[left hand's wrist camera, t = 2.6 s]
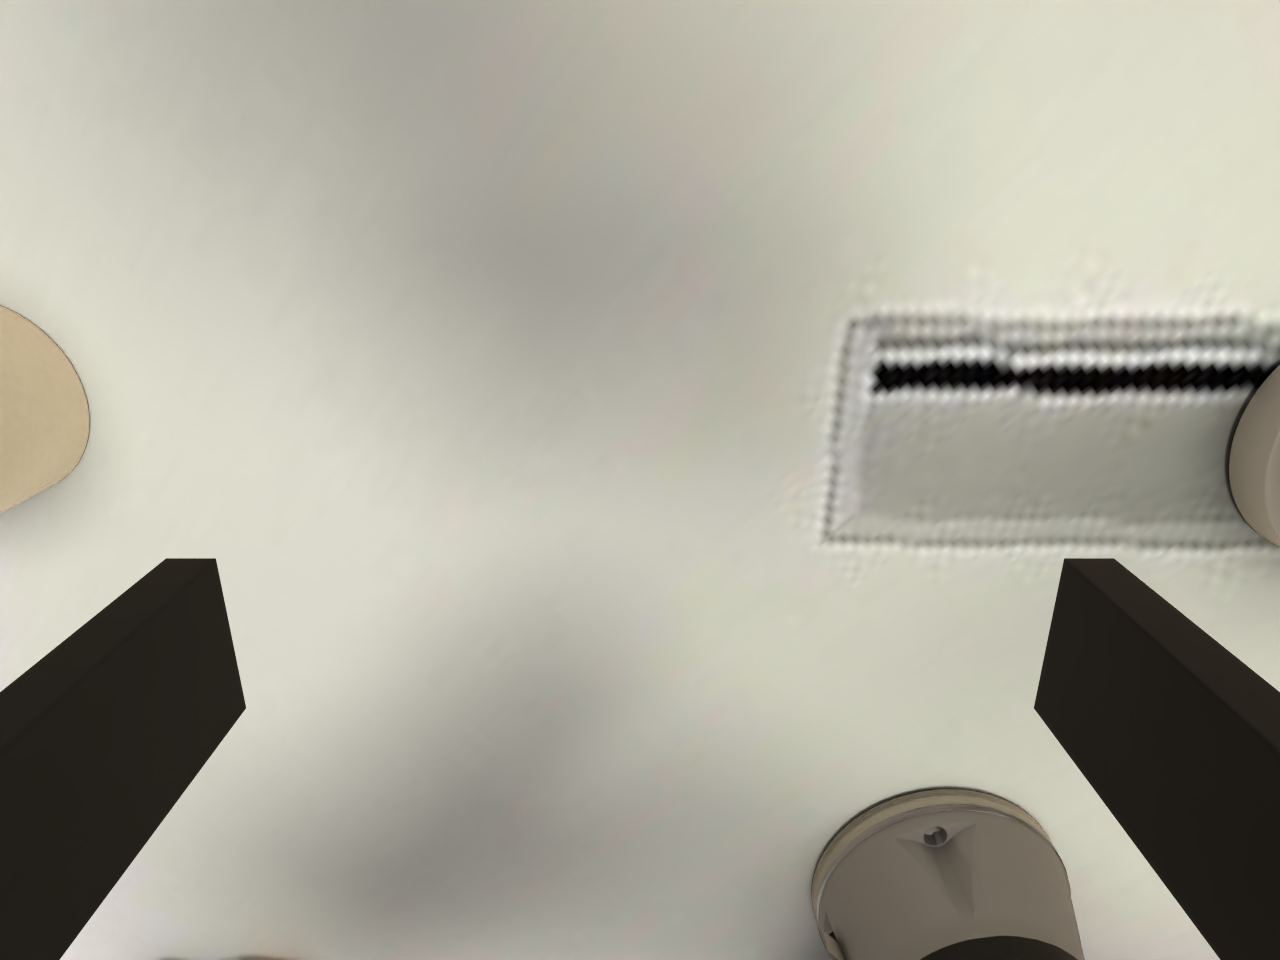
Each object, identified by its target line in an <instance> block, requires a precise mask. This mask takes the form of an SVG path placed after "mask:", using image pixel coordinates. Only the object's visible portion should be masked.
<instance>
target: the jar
mask: <svg viewBox="0 0 1280 960" xmlns="http://www.w3.org/2000/svg"><path fill="white" fill-rule="evenodd" d="M88 434H89V410H88V403H87V399H86V396H85V392H84V389H83V387H82V384H81V382H80V380H79V377H78V375H77V373H76V372H75V370H74V368H73V366H72V365H71V363H70V362H69V360H68V359H67V357H66V356H65V355H64V353H63V352H62V351H61V350H60V348H59V347H58V346H57V345H56V344H55V343H54V342H53V340H51V339H50V338H49V337H48V336H47V335H46V334H45V333H44V332H43V331H42V330H41V329H39V328H38V327H37V326H35V325H34V324H33V323H31V322H30V321H29V320H27V319H25V318H24V317H22V316H20V315H19V314H17V313H15V312H13V311H11V310H9V309H7V308H5V307H3V306H0V513H2V512H4V511H6V510H8V509H9V508H11V507H13V506H15V505H17V504H19V503H21V502H23V501H25V500H27V499H28V498H30V497H32V496H34V495H36V494H38V493H40V492H42V491H44V490H45V489H47V488H49V487H51V486H53V485H55V484H57V483H58V482H59V481H61V480H62V479H64V478H65V477H66V476H67V475H68V474H69V473H70V472H71V471H72V470H73V469H74V468H75V466H76V465H77V463H78V462H79V460H80V458H81V456H82V454H83V452H84V450H85V447H86V444H87V440H88Z"/></svg>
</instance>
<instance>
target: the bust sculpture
mask: <svg viewBox="0 0 1280 960" xmlns="http://www.w3.org/2000/svg"><path fill="white" fill-rule="evenodd" d="M1229 477H1230V485H1231V490H1232V494H1233V497H1234V500H1235V503H1236V505H1237V507H1238V509H1239V511H1240V513H1241V514H1242V516H1243V517H1244V519H1245V520H1246V521H1247V523H1248V524H1249V525H1250V526H1251V527H1252V528H1253V529H1254V530H1255V531H1256V532H1257V533H1258V534H1260V535H1261V536H1262V537H1264V538H1265V539H1267V540H1268V541H1270V542H1272V543H1273V544H1275V545H1277V546H1279V547H1280V365H1279V366H1278V367H1277V368H1276V369H1275V370H1274V371H1273V372H1272V373H1271V374H1270V375H1269V377H1268V378H1267V379H1266V380H1265V381H1264V382H1263V384H1262V385H1261V386H1260V388H1259V389H1258V390H1257V392H1256V393H1255V395H1254V396H1253V398H1252V399H1251V401H1250V402H1249V404H1248V406H1247V407H1246V409H1245V411H1244V413H1243V415H1242V417H1241V419H1240V422H1239V424H1238V427H1237V429H1236V432H1235V435H1234V439H1233V443H1232V447H1231V453H1230V461H1229Z"/></svg>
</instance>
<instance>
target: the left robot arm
mask: <svg viewBox="0 0 1280 960" xmlns="http://www.w3.org/2000/svg"><path fill="white" fill-rule="evenodd" d="M245 709H246V705H245V700H244V696H243V691H242V686H241V681H240V676H239V671H238V666H237V661H236V656H235V651H234V646H233V641H232V636H231V632H230V627H229V622H228V617H227V612H226V607H225V602H224V597H223V592H222V587H221V582H220V577H219V572H218V568H217V563H216V559H165V560H164V561H163V562H161V563H160V564H159V565H158V566H156V567H155V568H154V569H153V570H151V571H150V572H149V573H148V574H146V575H145V576H144V577H143V578H141V579H140V580H139V581H138V582H137V583H135V584H134V585H133V586H132V587H130V588H129V589H128V590H127V591H125V592H124V593H123V594H122V595H120V596H119V597H118V598H117V599H115V600H114V601H113V602H112V603H110V604H109V605H108V606H107V607H106V608H104V609H103V610H102V611H101V612H99V613H98V614H97V615H96V616H94V617H93V618H92V619H91V620H89V621H88V622H87V623H86V624H84V625H83V626H82V627H81V628H79V629H78V630H77V631H76V632H75V633H73V634H72V635H71V636H70V637H68V638H67V639H66V640H65V641H63V642H62V643H61V644H60V645H58V646H57V647H56V648H55V649H53V650H52V651H51V652H50V653H48V654H47V655H46V656H45V657H44V658H42V659H41V660H40V661H39V662H37V663H36V664H35V665H34V666H32V667H31V668H30V669H29V670H27V671H26V672H25V673H24V674H22V675H21V676H20V677H19V678H17V679H16V680H15V681H14V682H13V683H11V684H10V685H9V686H8V687H6V688H5V689H4V690H3V691H1V692H0V960H60V958H61V957H62V956H63V954H64V953H65V952H66V950H67V949H68V947H69V946H70V945H71V943H72V942H73V941H74V939H75V938H76V937H77V935H78V934H79V933H80V931H81V930H82V929H83V927H84V926H85V925H86V923H87V922H88V921H89V919H90V918H91V916H92V915H93V914H94V912H95V911H96V910H97V908H98V907H99V906H100V904H101V903H102V902H103V900H104V899H105V898H106V896H107V895H108V894H109V892H110V891H111V889H112V888H113V887H114V885H115V884H116V883H117V881H118V880H119V879H120V877H121V876H122V875H123V873H124V872H125V871H126V869H127V868H128V867H129V865H130V864H131V862H132V861H133V860H134V858H135V857H136V856H137V854H138V853H139V852H140V850H141V849H142V848H143V846H144V845H145V844H146V842H147V841H148V840H149V838H150V837H151V836H152V834H153V833H154V831H155V830H156V829H157V827H158V826H159V825H160V823H161V822H162V821H163V819H164V818H165V817H166V815H167V814H168V813H169V811H170V810H171V809H172V807H173V806H174V804H175V803H176V802H177V800H178V799H179V798H180V796H181V795H182V794H183V792H184V791H185V790H186V788H187V787H188V786H189V784H190V783H191V782H192V780H193V779H194V778H195V776H196V775H197V773H198V772H199V771H200V769H201V768H202V767H203V765H204V764H205V763H206V761H207V760H208V759H209V757H210V756H211V755H212V753H213V752H214V751H215V749H216V748H217V746H218V745H219V744H220V742H221V741H222V740H223V738H224V737H225V736H226V734H227V733H228V732H229V730H230V729H231V728H232V726H233V725H234V724H235V722H236V721H237V719H238V718H239V717H240V715H241V714H242V713H243V711H244V710H245ZM1034 709H1035V710H1036V711H1037V713H1038V714H1039V715H1040V717H1041V718H1042V720H1043V721H1044V722H1045V724H1046V725H1047V726H1048V728H1049V729H1050V730H1051V732H1052V733H1053V734H1054V736H1055V737H1056V738H1057V740H1058V741H1059V742H1060V744H1061V745H1062V746H1063V748H1064V749H1065V751H1066V752H1067V753H1068V755H1069V756H1070V757H1071V759H1072V760H1073V761H1074V763H1075V764H1076V765H1077V767H1078V768H1079V769H1080V771H1081V772H1082V773H1083V775H1084V776H1085V778H1086V779H1087V780H1088V782H1089V783H1090V784H1091V786H1092V787H1093V788H1094V790H1095V791H1096V792H1097V794H1098V795H1099V796H1100V798H1101V799H1102V800H1103V802H1104V803H1105V804H1106V806H1107V807H1108V809H1109V810H1110V811H1111V813H1112V814H1113V815H1114V817H1115V818H1116V819H1117V821H1118V822H1119V823H1120V825H1121V826H1122V827H1123V829H1124V830H1125V831H1126V833H1127V834H1128V836H1129V837H1130V838H1131V840H1132V841H1133V842H1134V844H1135V845H1136V846H1137V848H1138V849H1139V850H1140V852H1141V853H1142V854H1143V856H1144V857H1145V858H1146V860H1147V861H1148V863H1149V864H1150V865H1151V867H1152V868H1153V869H1154V871H1155V872H1156V873H1157V875H1158V876H1159V877H1160V879H1161V880H1162V881H1163V883H1164V884H1165V885H1166V887H1167V888H1168V889H1169V891H1170V892H1171V894H1172V895H1173V896H1174V898H1175V899H1176V900H1177V902H1178V903H1179V904H1180V906H1181V907H1182V908H1183V910H1184V911H1185V912H1186V914H1187V915H1188V916H1189V918H1190V919H1191V921H1192V922H1193V923H1194V925H1195V926H1196V927H1197V929H1198V930H1199V931H1200V933H1201V934H1202V935H1203V937H1204V938H1205V939H1206V941H1207V942H1208V943H1209V945H1210V946H1211V947H1212V949H1213V950H1214V952H1215V953H1216V954H1217V956H1218V957H1219V958H1220V960H1280V692H1279V691H1277V690H1276V689H1275V688H1274V687H1272V686H1271V685H1270V684H1269V683H1267V682H1266V681H1265V680H1264V679H1263V678H1261V677H1260V676H1259V675H1258V674H1256V673H1255V672H1254V671H1253V670H1251V669H1250V668H1249V667H1248V666H1246V665H1245V664H1244V663H1243V662H1241V661H1240V660H1239V659H1238V658H1236V657H1235V656H1234V655H1233V654H1232V653H1230V652H1229V651H1228V650H1227V649H1225V648H1224V647H1223V646H1222V645H1220V644H1219V643H1218V642H1217V641H1215V640H1214V639H1213V638H1212V637H1210V636H1209V635H1208V634H1207V633H1205V632H1204V631H1203V630H1202V629H1201V628H1199V627H1198V626H1197V625H1196V624H1194V623H1193V622H1192V621H1191V620H1189V619H1188V618H1187V617H1186V616H1184V615H1183V614H1182V613H1181V612H1179V611H1178V610H1177V609H1176V608H1174V607H1173V606H1172V605H1171V604H1170V603H1168V602H1167V601H1166V600H1165V599H1163V598H1162V597H1161V596H1160V595H1158V594H1157V593H1156V592H1155V591H1153V590H1152V589H1151V588H1150V587H1148V586H1147V585H1146V584H1145V583H1143V582H1142V581H1141V580H1140V579H1139V578H1137V577H1136V576H1135V575H1134V574H1132V573H1131V572H1130V571H1129V570H1127V569H1126V568H1125V567H1124V566H1122V565H1121V564H1120V563H1119V562H1117V561H1116V560H1115V559H1064V563H1063V568H1062V572H1061V577H1060V582H1059V587H1058V592H1057V597H1056V602H1055V607H1054V612H1053V617H1052V622H1051V627H1050V632H1049V636H1048V641H1047V646H1046V651H1045V656H1044V661H1043V666H1042V671H1041V676H1040V681H1039V686H1038V691H1037V696H1036V700H1035V705H1034Z"/></svg>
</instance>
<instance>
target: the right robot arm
mask: <svg viewBox="0 0 1280 960" xmlns="http://www.w3.org/2000/svg"><path fill="white" fill-rule="evenodd" d="M812 901H813V908H814V912H815V916H816V920H817V925H818V929H819V933H820V936H821V939H822V941H823V944H824V946H825V948H826V950H827V951H828V953H829V955H830V956H831V958H832V960H1084V956H1083V951H1082V946H1081V941H1080V936H1079V931H1078V927H1077V922H1076V918H1075V913H1074V909H1073V905H1072V901H1071V893H1070V885H1069V881H1068V876H1067V873H1066V869H1065V867H1064V864H1063V862H1062V860H1061V858H1060V857H1059V855H1058V853H1057V852H1056V850H1055V848H1054V847H1053V845H1052V843H1051V842H1050V840H1049V839H1048V837H1047V835H1046V834H1045V832H1044V831H1043V829H1042V828H1041V827H1040V826H1039V824H1038V823H1037V822H1036V821H1035V820H1034V819H1033V818H1032V817H1031V816H1030V815H1028V814H1027V813H1026V812H1024V811H1023V810H1022V809H1020V808H1019V807H1017V806H1015V805H1014V804H1012V803H1010V802H1008V801H1005V800H1003V799H1001V798H998V797H995V796H992V795H989V794H985V793H981V792H975V791H970V790H959V789H940V790H929V791H922V792H917V793H912V794H908V795H904V796H901V797H898V798H895V799H892V800H890V801H887V802H884V803H882V804H880V805H878V806H876V807H874V808H872V809H870V810H869V811H867V812H865V813H863V814H862V815H860V816H859V817H857V818H856V819H855V820H853V821H852V822H851V823H849V824H848V825H847V826H846V827H845V828H844V829H843V830H842V831H841V832H840V833H839V834H838V835H837V836H836V837H835V838H834V839H833V840H832V842H831V843H830V844H829V845H828V847H827V848H826V850H825V851H824V853H823V855H822V857H821V859H820V861H819V863H818V865H817V868H816V871H815V874H814V878H813V885H812Z"/></svg>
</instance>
